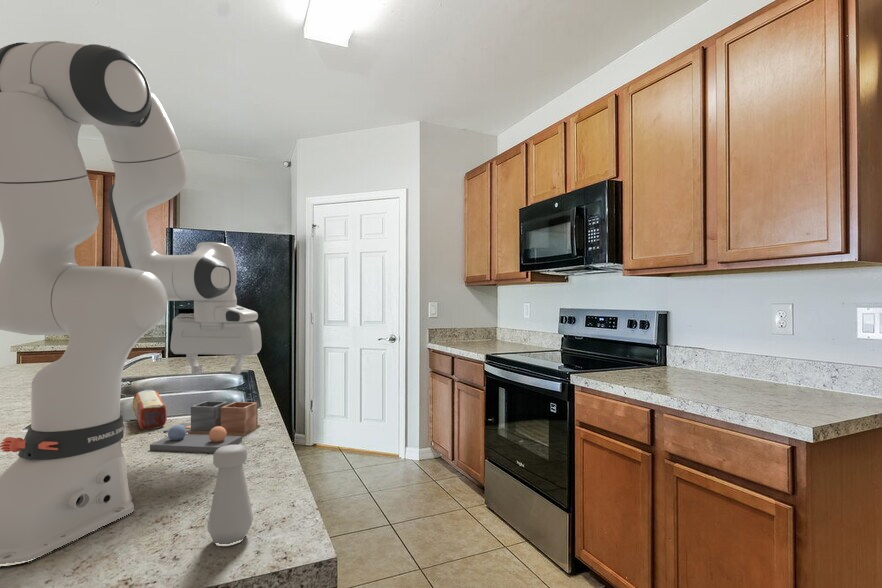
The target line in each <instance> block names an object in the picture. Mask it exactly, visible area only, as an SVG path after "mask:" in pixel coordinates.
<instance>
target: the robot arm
mask: <svg viewBox="0 0 882 588" xmlns="http://www.w3.org/2000/svg"><path fill="white" fill-rule="evenodd" d="M146 77H147V76H146V75H145V74H144V72H143V70H142V69H141V68H140V66H139V65H138V64H137V62H136V61H135V60H134V59H133V58H132V57H130V55H128V54H127V53H125V52H124V51H121V50H118V49H117V48H113V47H109V46H105V45H103V44H95V43H92V44H83V43H74V42H73V43H71V42H65V41H62V40H61V41H60V40H50V41H49V40H48V41H47V40H44V41H35V42H22V41H21V42H16V43H15V42H14V43H11V44H8V45H4V46H3V47H0V226H1V229H2V234H3V251H2V257H1V260H0V331H7V332H11V333H16V334H20V335H21V334H22V335H28V336H69V337H68V342H67V347H66V349H65V351H64V353H63V354H62V355H61V357H60V358H59V359H56V360H55V361H53V362H51V363H49V364H47V365H45V366H44V367H42V368H41V369H40V370H39V371H37V373H36V374H35V375H34V377H33V378H32V381H31V383H30V384H31V385H30V386H31V389H30V391H31V392H30V393H31V394H30V395H31V398H30V399H31V401H30V402H31V406H30V407H31V410H30V411H31V412H30V413H31V418H30V421H31V422H30V425H31V426H30V427H29V428H28V429H27V432H25V433H26V434H25V435H24V438H22V437H12V436H11V437H10V436H9V437H5V438H4V439H2V441H1V442H0V450H1V451H2V452H5V453H7V452H8V453H9V452H10V453H11V452H12V453H17V452H18V454H17V456H18V458H17V459H16V460H15V461H14V462H13V463H12V464H11V465H10V466H8V468H7V469H6V470H5V471H4V472H3V473H2V474H0V564H6V563H15V562H22V561H28V560H31V559H34V558H37V557H38V556H41V555H43V554H46V553H48V552H50V551H52V550H54V549H57V548H59V547H61V546H63V545H65V544H67V543H69V542H71V541H73V540H75V539H77V538H79V537H81V536H83V535H85V534H88V533H89V532H92V531H93V530H96V529H98V528H100V527H102V526H105V525H107V524H109V523H111V522H113V521H115V520H117V519H119V520H121V519H123V518H125V517H127V516H129V515H131V514H133V513H134V512H135V506H134V505H135V504H134V503H133V496H132V493H131V491H130V488H129V481H128V480H129V479H128V473H127V472H128V471H127V466H126V460H125V456H124V453H123V450H122V442H121V441H122V439H123V438H124V429H125V425H124V416H123V415H121V394H122V393H121V392H122V391H121V390H122V379H123V378H122V377H123V373H124V367H125V365H126V361H127V359H128V357H129V354H130V353H131V351H132V350H133V347H134V346H136V344H137V342H138V341H139V340H140V339H141V338H142V337H143V336H144V335H145V334H147V333H148V332H149V331H151V330H152V329H154V328H155V327H156V326H157V325H158V324H159V323H160V322H161V321H162V319H163V317H164V316H165V313H166V312H167V308H168V307H167V306H168V301H170V302H175V301H176V302H179V301H181V302H184V301H185V302H186V301H187V302H188V301H193V313H178V315H176V316H175V317H174V318H173V319H172V331H171V337H170V347H169V348H170V351H171V352H172V353H173V355H186V356H185V357H186V361H187V362H188V364H189V365H190V367H191V368H190V369H191V370H190V371H191V374H193V375H198V374H202V373H203V365H202V364H199V362H198V360H197V358H199V356H198V355H219V356H221V355H226V356H228V355H234V356H235V360H236V363H235V365H233V366H230V373H231V375H240V374H242V365H244V362H245V361H246V359H247V356H253V355H257V354H258V353H260V351H261V349H262V346H263V345H262V333H261V332H262V331H261V327H260V325H259V323H258V322H257V320H258V318H259V314H258V312H257V311H255V310H252V309H248V308H246V307H243V306H241V305H238V304H237V303H238V302H237V301H238V297H237V295H236V286H237V282H238V281H237V279H238V276H237V265H236V255H235V252H234V250H233V249H234V248H233V247H232V246H230V245H229V244H227V243H223V242H218V241H212V240H211V241H202V242H201V241H200V242H199V243H197V245H196V249H195V251H193V252H190V253H189V254H161V253H160V252H157V251H156V250H155V249H154V248H153V244H152V239H151V234H150V230H149V225H148V221H147V213H148V211H149V210H151V209H153V208H155V207H157V206H159V205H162V204H164V203H166V202H168V201H169V200H171V199H173V198H175V196H177V195H178V194H179V193H180V192H182V190H183V188H184V187H185V186H186V183H187V179H188V168H187V164H186V163H187V162H186V160H185V157H184V154H183V151H182V148H181V145H180V142H179V139H178V137H177V134H176V131H175V130H174V127H173V125H172V123H171V120H170V119H169V116H168V115H167V112H166V110H165V109H164V107H163V105H162V103H161V102H160V100H159V99H158V97H157V96H156V94H155V93H153V92H151V88H150V85H149V81H148V80H147V78H146ZM82 125H85V126H86V125H88V126H89V125H92V126H94V127H95V128H96V129H97V131H99V133H100V134H101V135H102V138H103V141H104V144H105V147H106V149H107V150H106V151H107V152H108V155H109V158H110V160H111V162H112V165H113V169H114V177H115V179H114V182H113V183H112V184H111V186H110V187H109V190H108V204H109V209H110V210H109V211H110V214H111V217H112V218H111V219H112V222H113V227H114V229H115V233H116V238H117V241H118V245H119V248H120V252H121V257H122V260H123V266H107V265H106V266H102V265H101V266H97V265H95V266H94V265H91V266H85V265H84V266H82V265H78V263H77V261H76V256H75V252H76V251H75V249H76V246H78V245H80V244H82V243H83V242H85V241H87V240H88V239H89V238H91V237H92V236H93V235H94V233H95V232H96V231H97V229H98V226H99V224H100V215H99V212H98V209H97V205H96V202H95V197H94V193H93V189H92V186H91V183H90V178H89V175H88V171H87V167H86V165H85V161H84V159H83V156H82V153H81V150H80V148H79V145H78V144H79V143H78V140H79V139H78V138H79V132H80V130H81V129H80V128H81V126H82ZM133 511H134V512H133ZM132 512H133V513H132ZM130 513H131V514H130ZM128 514H129V515H128ZM126 515H127V516H126ZM124 516H125V517H124ZM122 517H123V518H122ZM120 518H121V519H120ZM117 521H118V520H117ZM115 522H116V521H115ZM113 523H114V522H113ZM111 524H112V523H111ZM109 525H110V524H109ZM107 526H108V525H107ZM105 527H106V526H105ZM102 528H103V527H102ZM100 529H101V528H100ZM98 530H99V529H98ZM96 531H97V530H96ZM92 533H93V532H92ZM88 535H89V534H88ZM77 540H78V539H77ZM75 541H76V540H75ZM73 542H74V541H73ZM71 543H72V542H71ZM69 544H70V543H69ZM67 545H68V544H67ZM65 546H66V545H65ZM63 547H64V546H63ZM61 548H62V547H61ZM59 549H60V548H59ZM57 550H58V549H57ZM50 553H51V552H50ZM48 554H49V553H48ZM46 555H47V554H46Z"/></svg>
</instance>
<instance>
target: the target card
mask: <svg viewBox="0 0 882 588" xmlns="http://www.w3.org/2000/svg"><path fill="white" fill-rule="evenodd" d="M178 425H182V426H183V427H184V428H185V429H186V434H188V432H189V431H191V422H182V423H179V424H178ZM170 428H171V427H169V428H167V429H164V430H163V432H164V433H168V431H169V429H170Z"/></svg>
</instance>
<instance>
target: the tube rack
mask: <svg viewBox="0 0 882 588" xmlns="http://www.w3.org/2000/svg"><path fill="white" fill-rule="evenodd" d="M258 409H259V408H258V401H256V402H254V401H253V402H252V401H250V402H249V401H234V402H232V403H229V401H220V400H218V401H216V400H206V401H203V402H200V403H197V404H194V405H191V406H190V423H191V431H189V432H187V434H198V435H209V432H210V431H211V429H213V428H214V427H217V426H221V427H223V428H224V429H225V430H226V436H242V437H244V436H247V435H248V434H250V433H252V432H253V431H255V430H257V429H259V428H260V426H261V425H260V424H258V422H259V419H258V417H259V416H258V415H259V414H258V413H259V411H258ZM258 427H259V428H258ZM251 431H252V432H251Z"/></svg>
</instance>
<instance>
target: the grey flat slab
mask: <svg viewBox="0 0 882 588" xmlns="http://www.w3.org/2000/svg"><path fill="white" fill-rule="evenodd" d="M242 441H243V436H226V437H225V439H224V440H223V441H221V442H219V443H215V442H212V441H211V440H210V439H209V435H198V434H188V433H186V434H185V436H184V438H183V439H181V440H179V441H172V440H170V439H169V437H168V436H166V437H164V438H162V439H160V440H157V441H155V442H153V443H150V444H149V451H165V452H187V453H188V452H189V453H213V454H214V453H215V451H216V450H217V449H218V448H220V447H223V446H227V445H239V443H242Z"/></svg>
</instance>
